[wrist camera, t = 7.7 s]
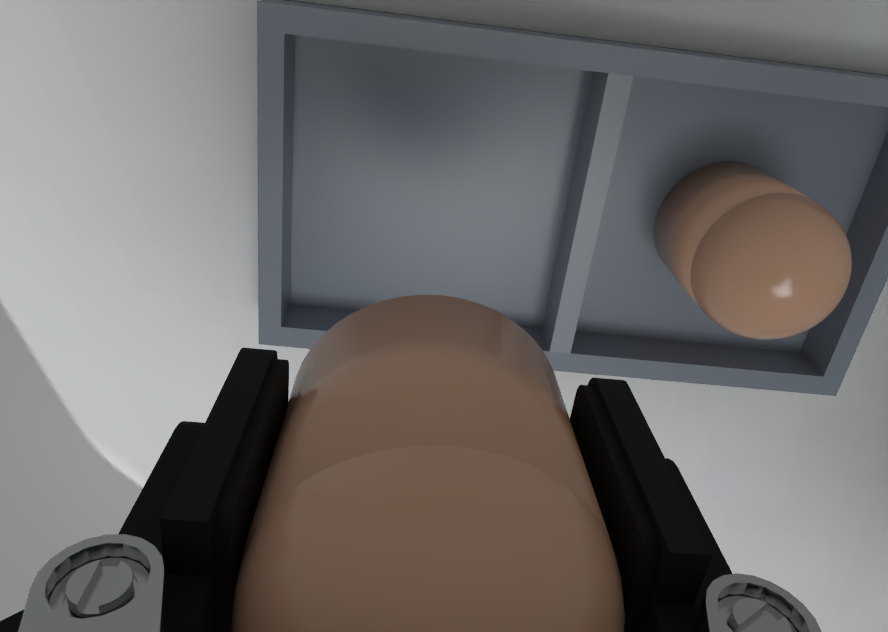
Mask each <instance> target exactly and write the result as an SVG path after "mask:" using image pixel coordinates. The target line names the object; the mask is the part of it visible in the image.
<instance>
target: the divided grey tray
mask: <svg viewBox="0 0 888 632" xmlns="http://www.w3.org/2000/svg"><path fill="white" fill-rule="evenodd" d="M257 30H258V266H259V344H264V345H275V346H286V347H297V348H308V349H311V348H312V347H313V346H314V344H315V343H316V342H317V341H318V340H319V339H320V337H321V336H322V335H323V334H325V333H326V332H327V331H328V330H329V329H330V328H331V327H333V326H334V325H335V324H336V323H338V322H339V321H341V320H342V319H344V318H345V317H347V316H348V315H350V314H352V313H354V312H356V311H358V310H360V309H362V308H364V307H366V306H369V305H372V304H375V303H378V302H381V301H384V300H388V299H392V298H397V297H402V296H412V295H444V296H450V297H457V298H462V299H466V300H469V301H473V302H476V303H479V304H482V305H484V306H487V307H489V308H491V309H494V310H496V311H498V312H499V313H501V314H503V315H505V316H506V317H508V318H510V319H511V320H513V321H514V322H515V323H516V324H518V325H519V326H520V327H522V328H523V329H524V330H525V331H526V332H527V333H528V334H529V335H530V336H531V337H532V338H533V339H534V340H535V341H536V342H537V344H538V345H539V347H540V348H541V349H542V351H543V352H544V353H545V355H546V357H547V359H548V361H549V363H550V365H551V367H552V368H553V370H554V371H565V372H576V373H587V374H598V375H610V376H621V377H632V378H643V379H654V380H665V381H677V382H688V383H699V384H710V385H721V386H732V387H743V388H755V389H766V390H777V391H788V392H799V393H810V394H822V395H833V396H836V394H837V392H838V389H839V387H840V385H841V383H842V380H843V378H844V376H845V373H846V371H847V369H848V367H849V364H850V362H851V360H852V358H853V355H854V353H855V351H856V348H857V346H858V344H859V342H860V339H861V337H862V335H863V332H864V330H865V328H866V326H867V323H868V321H869V319H870V317H871V314H872V312H873V310H874V307H875V305H876V303H877V301H878V298H879V296H880V294H881V291H882V289H883V287H884V285H885V282H886V280H887V278H888V75H880V74H872V73H864V72H856V71H848V70H840V69H832V68H824V67H816V66H808V65H800V64H792V63H784V62H776V61H768V60H760V59H752V58H744V57H736V56H728V55H721V54H713V53H705V52H697V51H689V50H681V49H673V48H665V47H657V46H649V45H641V44H633V43H625V42H617V41H609V40H601V39H593V38H585V37H577V36H569V35H561V34H553V33H545V32H537V31H529V30H521V29H513V28H505V27H497V26H489V25H481V24H473V23H465V22H457V21H449V20H441V19H433V18H425V17H417V16H409V15H401V14H394V13H386V12H378V11H370V10H362V9H354V8H346V7H338V6H330V5H322V4H314V3H306V2H298V1H290V0H262V1H257ZM722 161H739V162H744V163H748V164H751V165H754V166H756V167H758V168H759V169H761V170H763V171H765V172H766V173H768V174H770V175H772V176H773V177H775V178H777V179H778V180H780V181H782V182H784V183H785V184H787V185H789V186H790V187H792V188H794V189H796V190H797V191H799V192H801V193H802V194H804V195H806V196H808V197H809V198H811V199H813V200H814V201H816V202H818V203H819V204H820V205H822V206H823V207H824V208H826V209H827V210H828V211H829V212H830V213H831V214H832V215H833V216H834V217H835V218H836V219H837V221H838V222H839V223H840V225H841V226H842V228H843V230H844V232H845V234H846V236H847V239H848V241H849V245H850V249H851V257H852V270H851V275H850V280H849V283H848V286H847V289H846V291H845V293H844V296H843V297H842V299H841V301H840V302H839V304H838V305H837V306H836V308H835V309H834V310H833V311H832V312H831V313H830V314H829V315H828V316H827V317H826V318H825V319H824V320H822V321H821V322H820V323H818V324H817V325H815V326H814V327H812V328H810V329H809V330H807V331H805V332H802V333H800V334H797V335H794V336H790V337H786V338H781V339H772V340H762V339H752V338H747V337H743V336H740V335H737V334H734V333H732V332H729V331H727V330H725V329H724V328H722V327H720V326H719V325H717V324H716V323H714V322H713V321H712V320H711V319H710V318H709V317H708V316H707V315H706V314H705V313H704V312H703V311H702V310H701V308H700V307H699V306H698V305H697V304H696V302H695V301H694V300H693V299H692V297H691V296H690V295H689V294H688V293H687V291H686V290H685V289H684V288H683V286H682V285H681V284H680V283H679V282H678V280H677V279H676V278H675V277H674V276H673V274H672V273H671V272H670V271H669V269H668V268H667V267H666V266H665V265H664V263H663V262H662V260H661V259H660V257H659V255H658V252H657V250H656V246H655V242H654V225H655V220H656V216H657V213H658V210H659V208H660V206H661V204H662V202H663V200H664V199H665V197H666V196H667V194H668V193H669V192H670V190H671V189H672V188H673V187H674V186H675V185H676V184H677V183H678V182H679V181H680V180H681V179H683V178H684V177H685V176H686V175H688V174H690V173H691V172H693V171H694V170H697V169H699V168H701V167H703V166H706V165H709V164H712V163H716V162H722Z"/></svg>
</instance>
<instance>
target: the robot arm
mask: <svg viewBox="0 0 888 632" xmlns="http://www.w3.org/2000/svg"><path fill="white" fill-rule="evenodd" d="M288 385H289V363H288V360H280V359H278V358H277V352H276V351H275V350H263V349H251V348H242V349H241V350H240V352H239V354H238V356H237V358H236V360H235V362H234V364H233V366H232V368H231V371H230V373H229V375H228V377H227V379H226V381H225V383H224V385H223V387H222V389H221V391H220V393H219V396H218V398H217V400H216V402H215V404H214V406H213V408H212V410H211V412H210V414H209V416H208V418H207V421H206V423H198V422H185V421H183V422H181V423H179V424H178V426H177V427H176V428H175V430H174V432H173V434H172V436H171V438H170V439H169V441H168V443H167V445H166V447H165V449H164V450H163V452H162V454H161V456H160V458H159V460H158V462H157V463H156V465H155V467H154V469H153V471H152V473H151V475H150V476H149V478H148V480H147V482H146V484H145V486H144V488H143V489H142V491H141V493H140V495H139V497H138V499H137V501H136V502H135V504H134V506H133V508H132V510H131V512H130V514H129V515H128V517H127V519H126V521H125V523H124V525H123V526H122V528H121V530H120V532H119V534H112V535H102V536H98V537H93V538H89V539H85V540H83V541H81V542H78V543H76V544H74V545H71V546H69V547H67V548H66V549H64V550H63V551H61V552H60V553H58V554H57V555H55V556H54V557H52V558H51V559H50V560H49V561H48V562H47V563H46V564H45V565H44V566H43V567H42V568H41V570H40V571H39V572H38V573H37V575H36V577H35V579H34V582H33V583H32V586H31V587H30V591H29V594H28V598H27V602H26V605H25V609H24V610H22V611H20V612H18V613H16V614H14V615H12V616H10V617H8V618H6V619H4V620H2V621H0V632H231V630H232V611H233V594H234V587H235V583H236V579H237V574H238V570H239V565H240V561H241V557H242V553H243V550H244V546H245V543H246V540H247V536H248V533H249V530H250V527H251V523H252V520H253V517H254V513H255V510H256V507H257V504H258V500H259V497H260V494H261V490H262V487H263V484H264V480H265V477H266V474H267V471H268V467H269V464H270V461H271V457H272V454H273V451H274V448H275V444H276V441H277V438H278V434H279V431H280V428H281V425H282V421H283V418H284V415H285V411H286V408H287V405H288ZM570 422H571V425H572V428H573V431H574V434H575V437H576V439H577V442H578V445H579V448H580V451H581V454H582V457H583V460H584V463H585V466H586V469H587V472H588V475H589V478H590V481H591V484H592V487H593V490H594V493H595V496H596V499H597V502H598V505H599V508H600V511H601V513H602V516H603V519H604V522H605V525H606V528H607V531H608V534H609V537H610V540H611V543H612V546H613V549H614V552H615V555H616V559H617V563H618V567H619V571H620V575H621V582H622V589H623V598H624V610H625V626H624V632H822V631H821V629H820V627H819V625H818V623H817V621H816V619H815V618H814V616H813V615H812V614H811V613H810V612H809V610H808V609H807V608H806V607H805V606H804V604H803V603H801V602H800V601H799V600H798V599H796V598H795V597H794V596H793V595H792V594H790V593H789V592H788V591H786V590H784V589H783V588H781V587H779V586H777V585H776V584H774V583H772V582H770V581H767V580H764V579H761V578H759V577H756V576H752V575H745V574H738V573H737V574H732V572H731V570H730V568H729V566H728V564H727V562H726V560H725V558H724V556H723V555H722V553H721V551H720V549H719V547H718V545H717V543H716V541H715V539H714V537H713V535H712V533H711V531H710V529H709V527H708V525H707V523H706V522H705V520H704V518H703V516H702V514H701V512H700V510H699V508H698V506H697V504H696V502H695V500H694V498H693V496H692V494H691V492H690V491H689V489H688V487H687V485H686V483H685V481H684V479H683V477H682V475H681V473H680V471H679V469H678V467H677V466H676V464H675V463H674V462H673V461H672V460H670V459H666V458H664V456H663V454H662V452H661V450H660V448H659V446H658V444H657V442H656V440H655V438H654V436H653V434H652V432H651V430H650V428H649V426H648V424H647V422H646V420H645V418H644V416H643V414H642V412H641V410H640V408H639V406H638V404H637V402H636V400H635V398H634V396H633V394H632V392H631V390H630V388H629V386H628V384H627V382H626V381H624V380H614V379H602V378H592V379H591V380H590V381H589V383H588V386H587V385H580V386H579V387H578V389H577V392H576V396H575V400H574V404H573V408H572V412H571V417H570Z"/></svg>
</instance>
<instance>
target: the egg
mask: <svg viewBox="0 0 888 632" xmlns="http://www.w3.org/2000/svg"><path fill="white" fill-rule="evenodd" d="M624 626H625V610H624V598H623V589H622V582H621V575H620V571H619V567H618V563H617V559H616V555H615V552H614V549H613V546H612V543H611V540H610V537H609V534H608V531H607V528H606V525H605V522H604V519H603V516H602V513H601V511H600V508H599V505H598V502H597V499H596V496H595V493H594V490H593V487H592V484H591V481H590V478H589V475H588V472H587V469H586V466H585V463H584V460H583V457H582V454H581V451H580V448H579V445H578V442H577V439H576V437H575V434H574V431H573V428H572V425H571V422H570V419H569V416H568V413H567V410H566V407H565V404H564V401H563V398H562V395H561V392H560V389H559V386H558V383H557V380H556V377H555V374H554V371H553V368H552V367H551V365H550V363H549V361H548V359H547V357H546V355H545V353H544V352H543V351H542V349H541V348H540V347H539V345H538V344H537V342H536V341H535V340H534V339H533V338H532V337H531V336H530V335H529V334H528V333H527V332H526V331H525V330H524V329H523V328H522V327H520V326H519V325H518V324H516V323H515V322H514V321H513V320H511V319H510V318H508V317H506V316H505V315H503V314H501V313H499V312H498V311H496V310H494V309H491V308H489V307H487V306H484V305H482V304H479V303H476V302H473V301H469V300H466V299H462V298H457V297H450V296H444V295H412V296H402V297H397V298H392V299H388V300H384V301H381V302H378V303H375V304H372V305H369V306H366V307H364V308H362V309H360V310H358V311H356V312H354V313H352V314H350V315H348V316H347V317H345V318H344V319H342V320H341V321H339V322H338V323H336V324H335V325H334V326H333V327H331V328H330V329H329V330H328V331H327V332H326V333H325V334H323V335H322V336H321V337H320V339H319V340H318V341H317V342H316V343H315V344H314V346H313V347H312V348H311V349H310V351H309V352H308V354H307V356H306V357H305V359H304V360H303V362H302V364H301V366H300V369H299V371H298V373H297V376H296V379H295V382H294V385H293V388H292V392H291V395H290V398H289V402H288V405H287V408H286V411H285V415H284V418H283V421H282V425H281V428H280V431H279V434H278V438H277V441H276V444H275V448H274V451H273V454H272V457H271V461H270V464H269V467H268V471H267V474H266V477H265V480H264V484H263V487H262V490H261V494H260V497H259V500H258V504H257V507H256V510H255V513H254V517H253V520H252V523H251V527H250V530H249V533H248V536H247V540H246V543H245V546H244V550H243V553H242V557H241V561H240V565H239V570H238V574H237V579H236V583H235V587H234V594H233V611H232V630H231V632H624Z"/></svg>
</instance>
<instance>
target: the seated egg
mask: <svg viewBox="0 0 888 632" xmlns="http://www.w3.org/2000/svg"><path fill="white" fill-rule="evenodd" d="M654 242H655V246H656V250H657V252H658V255H659V257H660V259H661V260H662V262H663V263H664V265H665V266H666V267H667V268H668V269H669V271H670V272H671V273H672V274H673V276H674V277H675V278H676V279H677V280H678V282H679V283H680V284H681V285H682V286H683V288H684V289H685V290H686V291H687V293H688V294H689V295H690V296H691V297H692V299H693V300H694V301H695V302H696V304H697V305H698V306H699V307H700V308H701V310H702V311H703V312H704V313H705V314H706V315H707V316H708V317H709V318H710V319H711V320H712V321H713V322H714V323H716V324H717V325H719V326H720V327H722V328H724V329H725V330H727V331H729V332H732V333H734V334H737V335H740V336H743V337H747V338H752V339H762V340H772V339H781V338H786V337H790V336H794V335H797V334H800V333H802V332H805V331H807V330H809V329H810V328H812V327H814V326H815V325H817V324H818V323H820V322H821V321H822V320H824V319H825V318H826V317H827V316H828V315H829V314H830V313H831V312H832V311H833V310H834V309H835V308H836V306H837V305H838V304H839V302H840V301H841V299H842V297H843V296H844V293H845V291H846V289H847V286H848V283H849V280H850V275H851V270H852V257H851V249H850V245H849V241H848V239H847V236H846V234H845V232H844V230H843V228H842V226H841V225H840V223H839V222H838V221H837V219H836V218H835V217H834V216H833V215H832V214H831V213H830V212H829V211H828V210H827V209H826V208H824V207H823V206H822V205H820V204H819V203H818V202H816V201H814V200H813V199H811V198H809V197H808V196H806V195H804V194H802V193H801V192H799V191H797V190H796V189H794V188H792V187H790V186H789V185H787V184H785V183H784V182H782V181H780V180H778V179H777V178H775V177H773V176H772V175H770V174H768V173H766V172H765V171H763V170H761V169H759V168H758V167H756V166H754V165H751V164H748V163H744V162H739V161H722V162H716V163H712V164H709V165H706V166H703V167H701V168H699V169H697V170H694V171H693V172H691V173H690V174H688V175H686V176H685V177H684V178H683V179H681V180H680V181H679V182H678V183H677V184H676V185H675V186H674V187H673V188H672V189H671V190H670V192H669V193H668V194H667V196H666V197H665V199H664V200H663V202H662V204H661V206H660V208H659V210H658V213H657V216H656V220H655V225H654Z"/></svg>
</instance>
